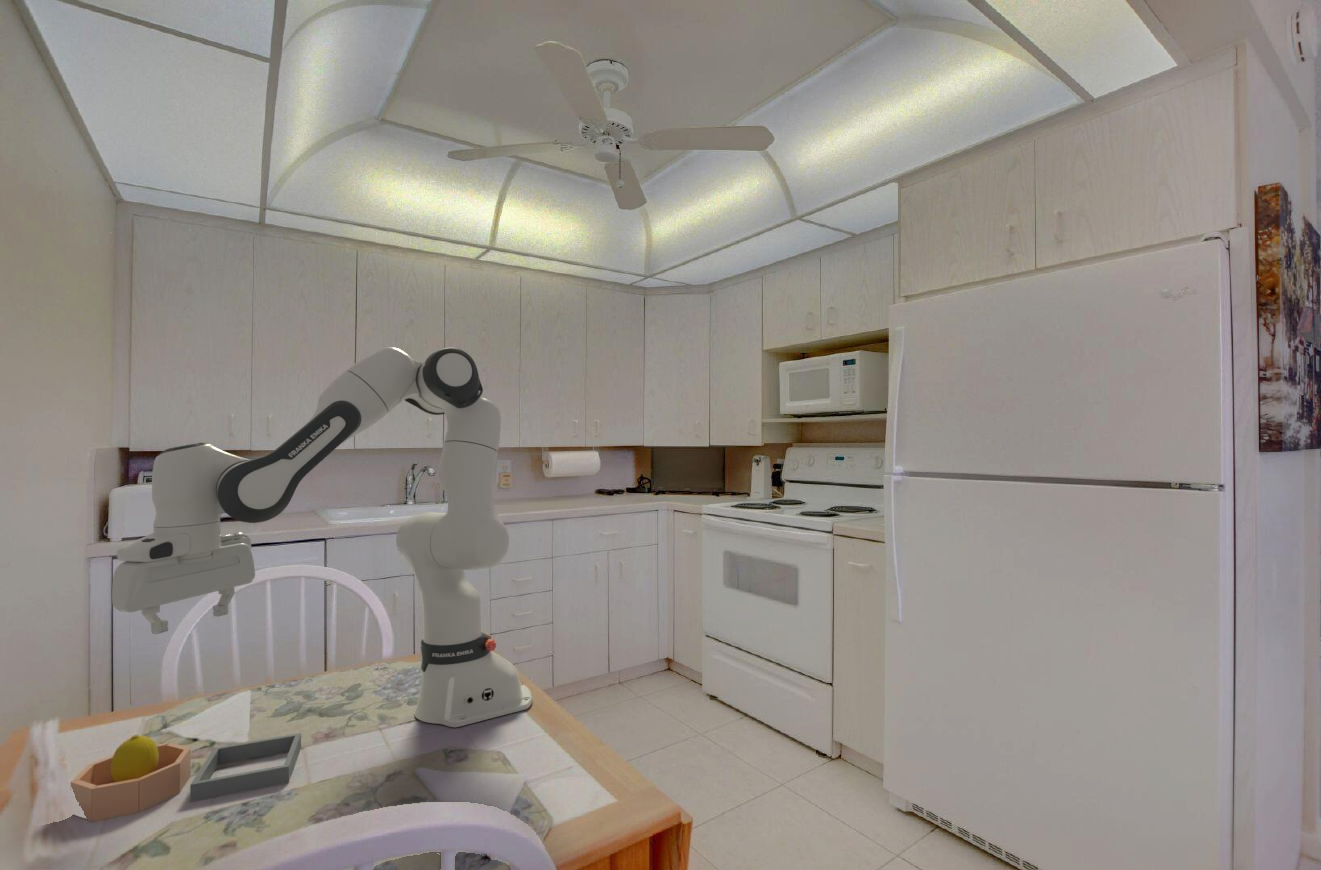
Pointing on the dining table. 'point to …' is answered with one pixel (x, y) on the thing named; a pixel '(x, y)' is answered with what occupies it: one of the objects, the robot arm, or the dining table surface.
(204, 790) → the tray
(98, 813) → the bowl
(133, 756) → the lemon
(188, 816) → the dining table surface
